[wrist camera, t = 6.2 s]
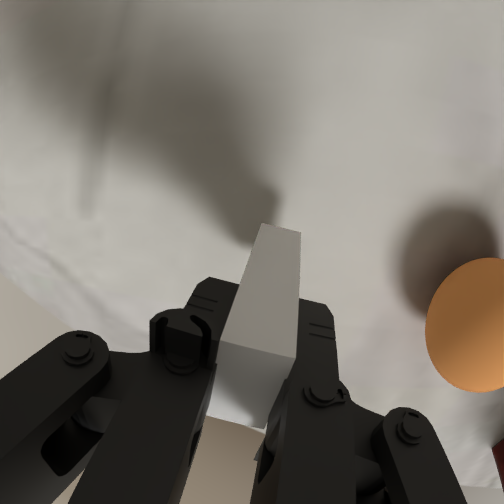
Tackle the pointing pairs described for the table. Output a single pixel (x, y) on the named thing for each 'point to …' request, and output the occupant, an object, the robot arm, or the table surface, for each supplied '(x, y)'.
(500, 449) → the vintage gas pump
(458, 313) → the ball
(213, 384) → the robot arm
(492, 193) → the table surface
